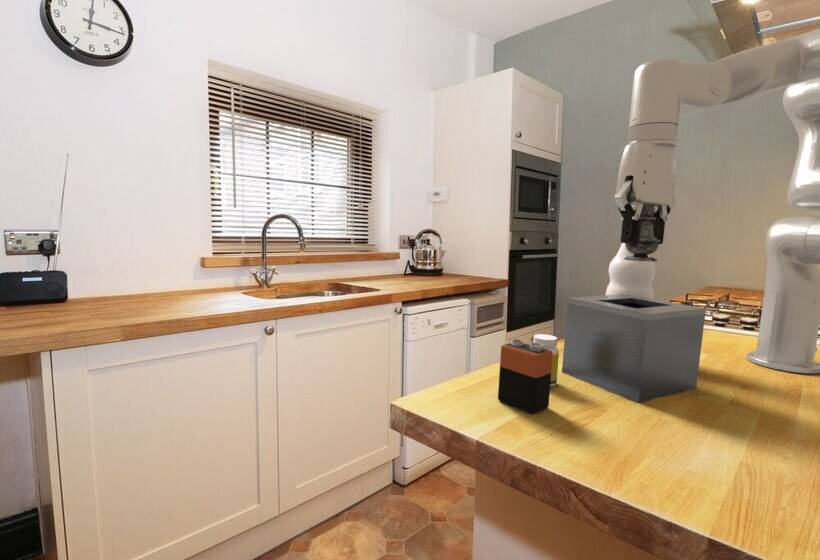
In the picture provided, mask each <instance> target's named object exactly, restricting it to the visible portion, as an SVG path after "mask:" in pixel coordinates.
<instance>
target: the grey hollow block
mask: <svg viewBox="0 0 820 560" xmlns="http://www.w3.org/2000/svg"><path fill="white" fill-rule="evenodd" d="M566 304H567V305H566V306H567V307H566V316H565V328H564V329H565V330H564V331H565V332H564V341H563V342H564V344H563V351H562V353H563V355H562V363H561V365H562V367H561V373H564V374H566V375H568V376H571V377H573V378H576V379H578V380H581V381H583V382H585V383H588V384H590V385H593V386H596V387H598V388H601V389H603V390H606V391H607V392H610V393H612V394H615V395H618V396H620V397H623V398H625V399H628V400H630V401H633V402H636V403H643V402H648V401H651V400H655V399H659V398H664V397H669V396H672V395H676V394H680V393H685V392H688V391H693V390H697V384H698V375H699V370H700V369H699V367H700V362H701V361H700V359H701V354H702V353H701V352H702V344H703V335H704V328H705V320H706V319H705V318H706V312H707V311H706V310H707V308H705V307H700V306H694V305H689V304H682V303H677V302H671V301H665V300H659V299H655V298H653V299H649V298H643V297H637V296H632V295H626V294H618V295H606V294H604V295H591V296H577V297H576V296H574V297H568V298H567V303H566Z"/></svg>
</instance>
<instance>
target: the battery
mask: <svg viewBox="0 0 820 560" xmlns="http://www.w3.org/2000/svg"><path fill="white" fill-rule="evenodd" d="M552 357H553V352H552V351H551V350H548V349H544V345H542V344H541V343H534V342H533V341H532V342H529V343H526V342H525V343H524V342H523V340H522V339H519V338H513V339H512V340H511V342H510V343H504V344H502V345H501V347H500V359H499V360H500V361H499V373H498V374H499V375H498V391H497V392H498V393H497V399H498V401H500V402H502V403H504V404H506V405H509V406H510V407H514V408H516V409H518V410H521V411H524V412H527V413H529V414H531V415H534V414H536V413H539V412H541V411H543V410H546V409H548V408H549V406H550V405H549V403H550V392H551V387H550V382H551V369H552Z"/></svg>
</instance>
